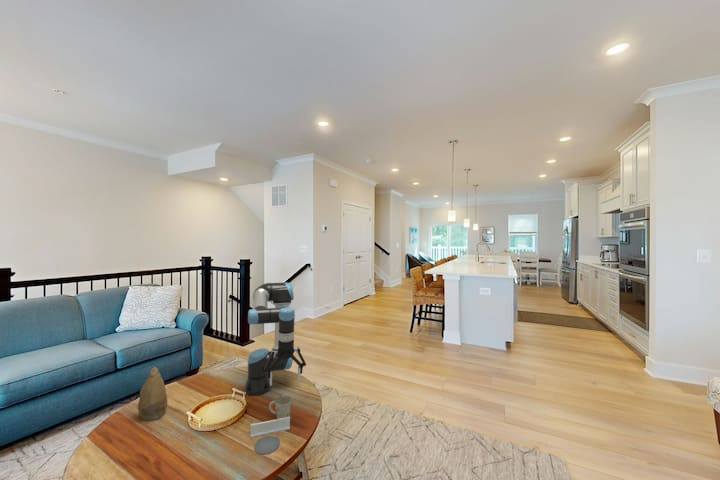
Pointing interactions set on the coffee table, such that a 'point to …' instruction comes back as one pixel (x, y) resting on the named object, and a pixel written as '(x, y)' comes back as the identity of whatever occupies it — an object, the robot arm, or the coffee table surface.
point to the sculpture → (153, 396)
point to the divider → (270, 426)
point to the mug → (282, 406)
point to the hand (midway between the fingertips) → (285, 382)
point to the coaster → (267, 445)
